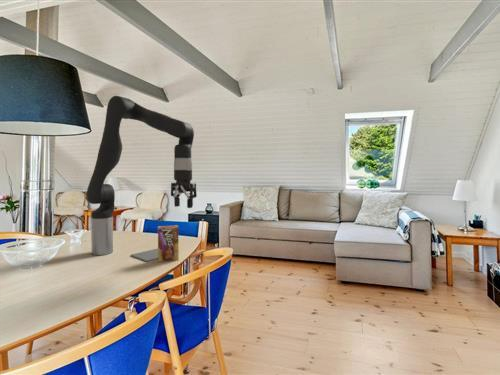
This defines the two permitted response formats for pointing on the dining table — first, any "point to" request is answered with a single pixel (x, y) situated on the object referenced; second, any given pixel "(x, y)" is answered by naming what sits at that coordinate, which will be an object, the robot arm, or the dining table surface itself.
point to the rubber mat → (147, 255)
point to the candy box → (168, 243)
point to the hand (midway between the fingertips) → (183, 207)
